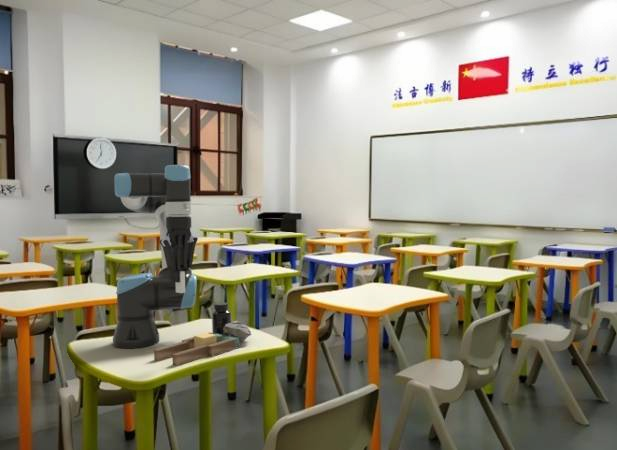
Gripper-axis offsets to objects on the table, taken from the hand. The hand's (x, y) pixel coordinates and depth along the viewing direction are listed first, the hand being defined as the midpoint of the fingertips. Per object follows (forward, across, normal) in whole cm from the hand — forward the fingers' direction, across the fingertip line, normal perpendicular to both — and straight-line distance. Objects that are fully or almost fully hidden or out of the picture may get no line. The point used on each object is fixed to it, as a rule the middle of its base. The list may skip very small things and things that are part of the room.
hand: (180, 292), depth 155 cm
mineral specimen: (+20, +21, -3) cm, 29 cm away
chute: (+20, +4, -2) cm, 20 cm away
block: (+20, +8, -2) cm, 22 cm away
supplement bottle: (+20, +22, +6) cm, 31 cm away
